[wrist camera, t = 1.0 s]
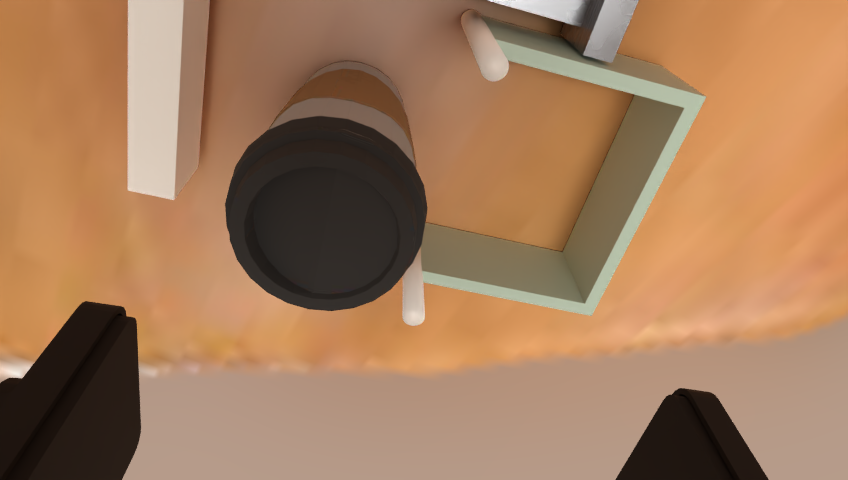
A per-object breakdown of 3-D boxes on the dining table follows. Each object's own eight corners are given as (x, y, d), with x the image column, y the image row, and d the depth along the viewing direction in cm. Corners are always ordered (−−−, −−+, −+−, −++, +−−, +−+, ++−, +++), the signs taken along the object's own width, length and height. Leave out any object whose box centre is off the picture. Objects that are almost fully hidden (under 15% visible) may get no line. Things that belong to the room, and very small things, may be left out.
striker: (125, -194, 26) (-59, -247, 16) (260, -152, 27) (172, -176, 17) (125, 151, 34) (6, 264, 24) (228, 173, 35) (156, 291, 25)
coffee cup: (275, 157, 37) (207, 301, 24) (293, 24, 33) (222, 113, 20) (402, 185, 38) (402, 335, 25) (435, 61, 34) (454, 165, 21)
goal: (464, 6, 32) (485, 49, 24) (663, 62, 34) (748, 120, 26) (401, 230, 40) (400, 323, 31) (567, 265, 42) (609, 362, 33)
